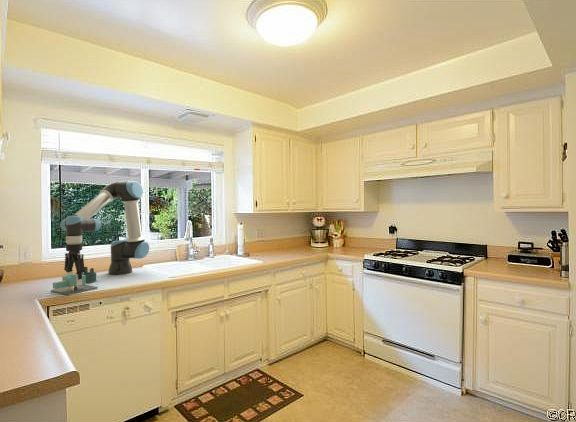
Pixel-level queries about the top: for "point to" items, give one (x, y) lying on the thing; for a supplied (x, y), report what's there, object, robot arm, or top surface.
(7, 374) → the top surface
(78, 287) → the post plate
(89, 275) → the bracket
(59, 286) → the teal stepped block
